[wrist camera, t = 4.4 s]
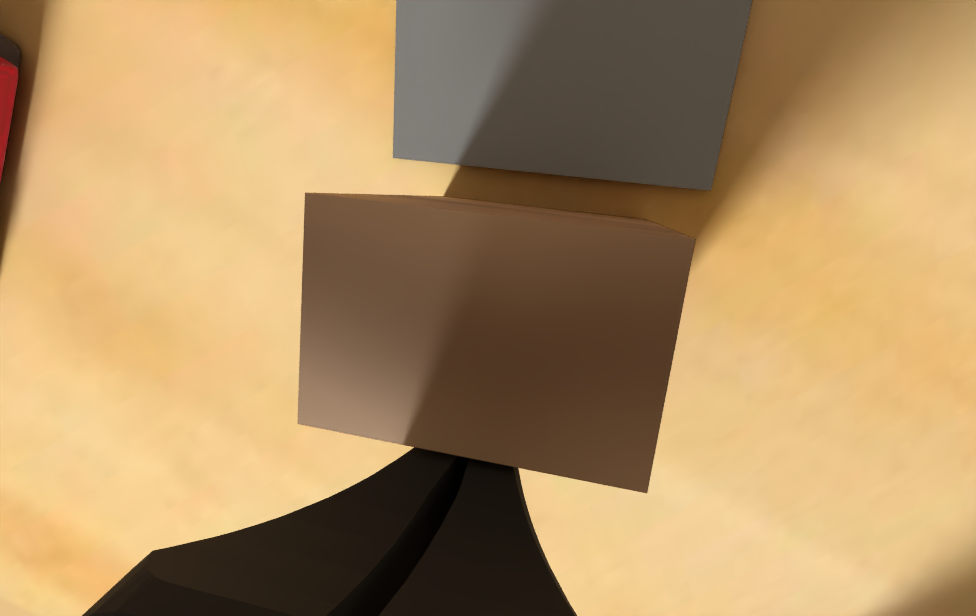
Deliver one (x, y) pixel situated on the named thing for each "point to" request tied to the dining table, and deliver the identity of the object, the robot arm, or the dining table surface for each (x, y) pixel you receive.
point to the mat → (568, 86)
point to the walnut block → (491, 330)
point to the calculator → (7, 90)
